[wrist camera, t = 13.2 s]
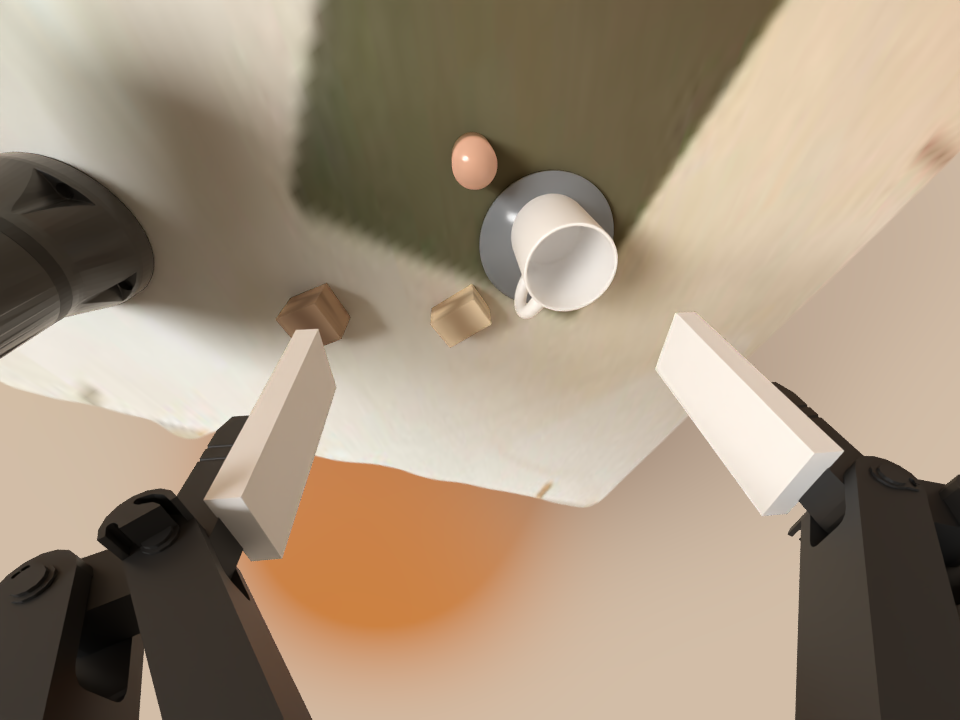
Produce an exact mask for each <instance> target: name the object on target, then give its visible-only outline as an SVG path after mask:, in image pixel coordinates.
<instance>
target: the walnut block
mask: <svg viewBox="0 0 960 720" xmlns="http://www.w3.org/2000/svg"><path fill="white" fill-rule="evenodd" d="M349 319H350V316H349V314H348V313H347V311H346V310H345V309H344V307H343V306H342V304H341V303H340V301H339V300H338V299H337V297H336V296H335V294H334V293H333V291H332V290H331V289H330V287H329V286H328V284H327V283H326V284H323V285H321V286H318V287H316V288H313V289H311V290H309V291H306V292H304V293H301V294H299V295H297V296H294V297H292V298H290V299H289V301H288V302H287V304H286V305H285V306H284V308H283V309H282V311H281V312H280V313H279V315H278V316H277V318H276V321H277V322H278V323H279V324H280V325H281V326H282V328H283V329H284V330H285V331H286V332H287V334H288V335H289V336H290V337H291V338H292V336H293V334H294V332H295V331H296V330H305V329H318V330H319V333H320V336H321V339H322V343H323V346H324V345H327V344H330V343H332V342H335V341H337V340H340V339H342V336H343V334H344V331H345V329H346V327H347V324H348V322H349Z"/></svg>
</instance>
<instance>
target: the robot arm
mask: <svg viewBox="0 0 960 720" xmlns="http://www.w3.org/2000/svg"><path fill="white" fill-rule="evenodd" d="M153 268H154V260H153V253H152V249H151V246H150V243H149V241H148V238H147V236H146V234H145V232H144V231H143V229H142V227H141V226H140V224H139V223H138V221H137V220H136V218H135V217H134V216H133V215H132V213H131V212H130V211H129V210H128V209H127V208H126V206H125V205H124V204H123V203H122V202H121V201H120V200H119V199H118V198H117V197H115V196H114V195H113V194H112V193H111V192H110V191H108V190H107V189H106V188H105V187H103V186H102V185H101V184H99V183H98V182H97V181H95V180H94V179H92V178H91V177H89V176H87V175H86V174H84V173H82V172H81V171H79V170H77V169H75V168H73V167H71V166H69V165H67V164H64V163H62V162H60V161H57V160H54V159H51V158H48V157H45V156H41V155H37V154H32V153H24V152H7V153H1V154H0V359H1V358H2V357H4V356H5V355H7V354H8V353H10V352H11V351H13V350H15V349H16V348H18V347H19V346H21V345H22V344H24V343H25V342H27V341H28V340H30V339H31V338H33V337H34V336H36V335H38V334H39V333H41V332H42V331H44V330H45V329H47V328H48V327H50V326H51V325H53V324H54V323H56V322H58V321H59V320H61V319H63V318H64V317H68V316H73V315H77V314H81V313H86V312H90V311H95V310H99V309H103V308H108V307H112V306H115V305H118V304H121V303H123V302H125V301H127V300H128V299H130V298H131V297H133V296H134V295H136V294H137V293H139V292H140V291H141V290H143V289H144V288H145V287H146V285H147V284H148V283H149V281H150V279H151V277H152V274H153ZM655 370H656V371H657V373H658V374H659V375H660V377H661V378H662V379H663V381H664V382H665V384H666V385H667V386H668V388H669V389H670V390H671V392H672V393H673V395H674V396H675V397H676V399H677V400H678V401H679V403H680V404H681V406H682V407H683V408H684V410H685V411H686V412H687V414H688V415H689V417H690V418H691V419H692V421H693V422H694V423H695V425H696V426H697V428H698V429H699V430H700V432H701V433H702V434H703V436H704V437H705V438H706V440H707V441H708V443H709V444H710V445H711V447H712V448H713V449H714V451H715V452H716V454H717V455H718V456H719V458H720V459H721V461H722V462H723V463H724V465H725V466H726V467H727V469H728V470H729V471H730V473H731V474H732V476H733V477H734V478H735V480H736V481H737V483H738V484H739V485H740V487H741V488H742V489H743V491H744V492H745V493H746V495H747V496H748V498H749V499H750V500H751V502H752V503H753V504H754V506H755V507H756V509H757V510H758V511H759V513H760V514H761V515H762V516H768V515H780V514H788V513H789V511H790V510H791V509H792V508H793V507H794V506H795V505H796V504H797V502H800V503H801V504H802V505H803V507H804V508H805V509H806V510H807V512H806V513H805V514H804V515H803V516H802V517H801V518H800V519H799V520H798V521H797V522H796V523H795V524H794V525H793V526H792V527H791V528H790V530H789V532H788V535H790V536H793V535H794V534H795V533H796V532H797V531H798V530H801V538H800V539H799V540H800V541H801V549H800V550H801V551H800V552H801V553H800V581H799V582H800V583H799V614H798V649H797V679H796V714H795V720H960V475H958V476H956V477H955V478H954V479H952V481H950V482H949V483H947V484H946V485H945V484H940V483H934V482H929V481H924V480H918V479H917V478H916V477H914V476H913V475H912V474H911V473H910V472H908V471H907V470H905V469H904V468H902V467H901V466H899V465H896V464H895V463H892V462H890V461H888V460H886V459H882V458H878V457H874V456H863V455H862V454H861V453H860V452H859V451H858V450H857V449H855V448H854V447H853V446H852V445H851V444H850V443H849V442H848V441H847V440H845V439H844V438H843V437H842V436H841V435H840V434H839V433H838V432H837V431H836V430H834V429H833V428H832V427H831V426H830V425H829V424H827V422H826V421H824V420H823V419H822V418H819V417H818V414H817V413H816V412H814V411H813V410H812V409H811V408H810V407H807V404H806V403H805V402H803V401H802V400H801V399H800V398H799V397H798V396H797V395H796V394H794V393H793V392H792V391H790V390H788V389H787V388H785V387H783V386H781V385H780V384H778V383H776V382H770V381H769V380H768V379H767V378H766V377H765V376H764V375H763V374H762V373H760V372H759V371H758V370H757V369H756V368H755V367H754V366H753V365H752V364H751V363H750V362H749V361H748V360H747V359H746V358H744V357H743V356H742V355H741V354H740V353H739V352H738V351H737V350H736V349H735V348H734V347H733V346H732V345H731V344H729V343H728V342H727V341H726V340H725V339H724V338H723V337H722V336H721V335H720V334H719V333H718V332H717V331H716V330H715V329H713V328H712V327H711V326H710V325H709V324H708V323H707V322H706V321H705V320H704V319H703V318H702V317H701V316H700V315H699V314H697V313H696V312H695V311H691V312H676V313H675V315H674V318H673V321H672V324H671V326H670V329H669V332H668V335H667V338H666V340H665V343H664V346H663V349H662V351H661V354H660V357H659V360H658V362H657V365H656V368H655ZM335 390H336V385H335V382H334V378H333V375H332V372H331V369H330V365H329V362H328V359H327V356H326V352H325V349H324V346H323V343H322V339H321V336H320V333H319V330H318V329H305V330H296V331H295V332H294V334H293V336H292V338H291V340H290V342H289V343H288V345H287V347H286V349H285V351H284V353H283V354H282V356H281V358H280V360H279V362H278V364H277V366H276V367H275V369H274V371H273V373H272V375H271V377H270V378H269V380H268V382H267V384H266V386H265V388H264V389H263V391H262V393H261V395H260V397H259V399H258V400H257V402H256V404H255V406H254V408H253V410H252V412H251V413H250V415H249V416H235V417H232V418H230V419H229V420H228V421H227V422H226V423H225V424H224V425H223V426H221V427H220V428H219V429H218V430H217V431H216V433H215V434H214V436H213V438H212V439H211V441H210V443H209V444H208V449H206V450H205V451H204V452H203V454H202V456H201V458H200V462H197V464H196V466H195V467H194V469H193V470H192V472H191V474H190V475H189V477H188V479H187V480H186V482H185V484H184V485H183V487H182V489H181V490H180V492H179V493H178V495H177V496H176V495H175V494H174V493H173V492H172V491H171V490H165V489H155V490H148V491H145V492H143V493H140V494H138V495H135V496H133V497H131V498H130V499H128V500H126V501H125V502H123V503H122V504H120V505H119V506H117V507H116V508H115V509H114V510H113V511H112V512H111V513H110V514H109V515H108V516H107V517H106V518H105V520H104V521H103V523H102V525H101V526H100V528H99V530H98V538H97V541H99V542H100V543H101V544H102V545H103V546H105V547H106V548H107V549H108V550H105V551H102V552H99V553H96V554H93V555H90V556H88V557H84V558H82V559H81V558H79V557H78V556H77V555H75V554H74V553H72V552H71V551H70V550H54V551H51V552H47V553H43V554H41V555H39V556H37V557H35V558H33V559H31V560H29V561H27V562H25V563H24V564H22V565H21V566H20V567H18V568H17V569H15V570H14V571H13V572H11V573H10V574H8V575H7V576H6V577H5V579H4V580H3V581H2V582H1V583H0V720H139V709H140V695H141V681H142V667H143V655H144V649H145V653H146V657H147V661H148V665H149V669H150V673H151V676H152V681H153V684H154V688H155V692H156V696H157V700H158V704H159V708H160V712H161V716H162V720H312V718H311V716H310V714H309V712H308V710H307V708H306V705H305V703H304V701H303V700H302V697H301V695H300V693H299V691H298V689H297V687H296V685H295V683H294V681H293V679H292V677H291V675H290V673H289V670H288V669H287V666H286V665H285V662H284V660H283V658H282V656H281V654H280V652H279V650H278V648H277V646H276V644H275V642H274V640H273V638H272V636H271V633H270V631H269V629H268V627H267V625H266V623H265V621H264V619H263V617H262V615H261V613H260V611H259V609H258V607H257V605H256V603H255V601H254V598H253V596H252V594H251V592H250V590H249V588H248V586H247V584H246V582H245V580H244V578H243V576H242V574H241V572H240V570H239V569H238V568H237V567H236V565H237V563H238V561H239V558H240V556H241V553H242V551H244V553H245V554H246V555H247V556H248V558H249V559H250V560H251V561H259V560H270V559H281V558H282V557H283V554H284V551H285V547H286V544H287V541H288V538H289V535H290V532H291V528H292V525H293V522H294V519H295V516H296V513H297V510H298V507H299V503H300V500H301V497H302V494H303V491H304V488H305V485H306V481H307V478H308V475H309V472H310V469H311V466H312V463H313V459H314V456H315V453H316V450H317V447H318V444H319V440H320V437H321V434H322V431H323V428H324V425H325V422H326V418H327V415H328V412H329V409H330V406H331V403H332V400H333V396H334V393H335Z"/></svg>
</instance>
